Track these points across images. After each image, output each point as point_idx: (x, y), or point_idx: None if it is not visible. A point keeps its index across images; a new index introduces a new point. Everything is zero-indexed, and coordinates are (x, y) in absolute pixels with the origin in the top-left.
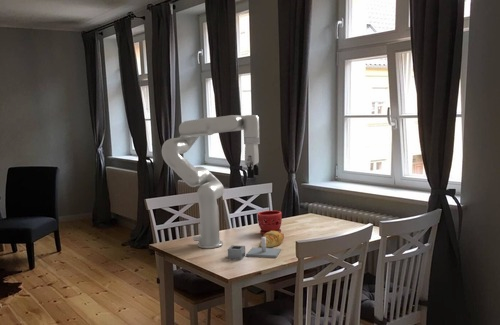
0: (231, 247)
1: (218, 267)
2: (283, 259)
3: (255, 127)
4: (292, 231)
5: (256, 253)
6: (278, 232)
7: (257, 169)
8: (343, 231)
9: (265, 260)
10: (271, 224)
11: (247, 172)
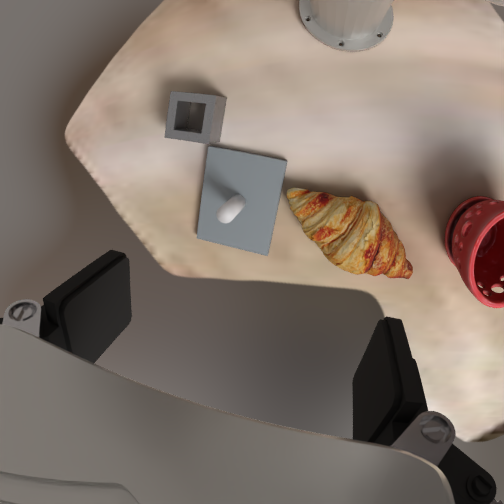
0: (190, 99)
1: (118, 86)
2: (186, 254)
3: None
4: None
5: (215, 178)
6: (355, 268)
7: (355, 432)
8: None
9: (174, 205)
10: (454, 250)
11: (71, 283)
